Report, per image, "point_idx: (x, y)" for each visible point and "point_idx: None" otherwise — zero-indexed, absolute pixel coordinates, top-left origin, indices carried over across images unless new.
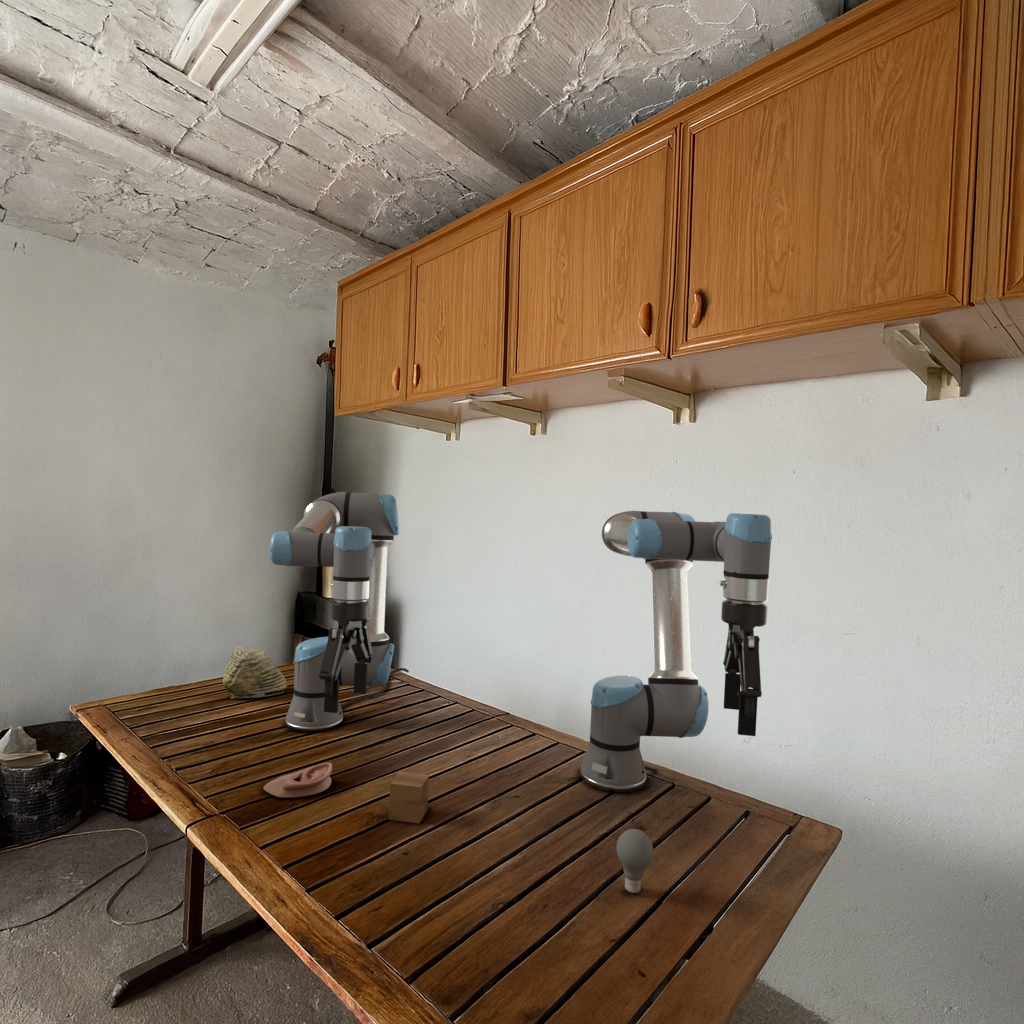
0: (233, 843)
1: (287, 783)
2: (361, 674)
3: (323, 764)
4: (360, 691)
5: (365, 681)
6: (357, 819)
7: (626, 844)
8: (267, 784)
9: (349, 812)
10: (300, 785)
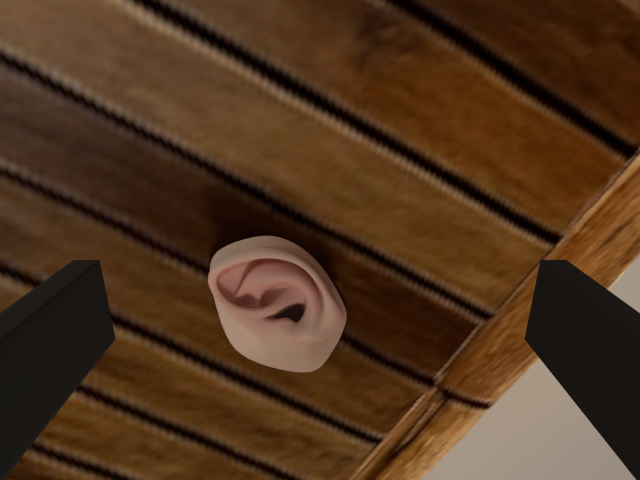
0: None
1: (336, 321)
2: (7, 386)
3: (217, 288)
4: (98, 301)
5: (40, 308)
6: (399, 84)
7: None
8: (312, 367)
9: (368, 122)
10: (329, 290)
